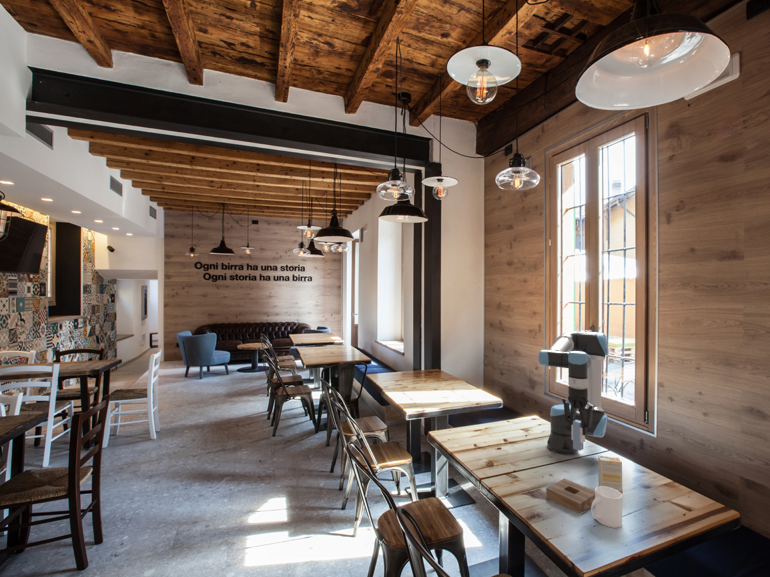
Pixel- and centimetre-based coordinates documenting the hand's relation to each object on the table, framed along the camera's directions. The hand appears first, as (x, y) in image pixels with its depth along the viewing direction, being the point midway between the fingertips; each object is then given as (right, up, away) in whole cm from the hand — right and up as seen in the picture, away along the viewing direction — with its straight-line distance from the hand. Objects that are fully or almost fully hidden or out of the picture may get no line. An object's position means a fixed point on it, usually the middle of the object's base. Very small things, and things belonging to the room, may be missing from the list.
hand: (578, 440), depth 161 cm
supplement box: (+12, -20, -3) cm, 24 cm away
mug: (-4, -20, -26) cm, 32 cm away
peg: (0, -4, 0) cm, 4 cm away
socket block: (-9, -20, -11) cm, 24 cm away
